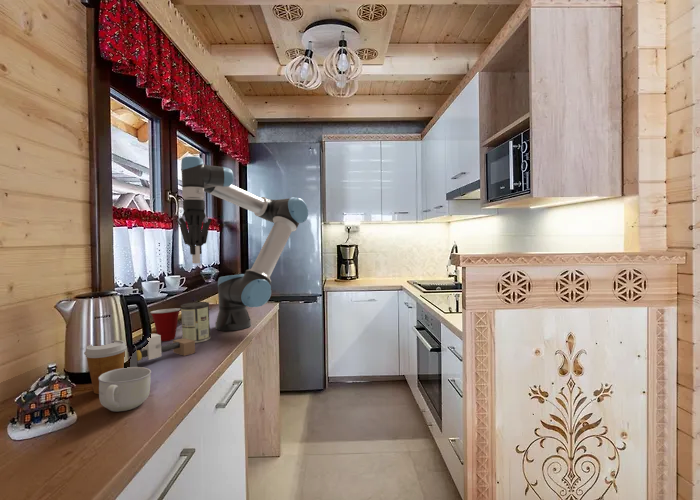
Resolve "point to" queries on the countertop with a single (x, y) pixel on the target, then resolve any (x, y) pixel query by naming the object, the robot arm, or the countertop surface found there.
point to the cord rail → (177, 346)
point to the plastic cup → (166, 323)
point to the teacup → (124, 388)
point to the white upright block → (153, 346)
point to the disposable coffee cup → (104, 360)
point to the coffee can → (195, 321)
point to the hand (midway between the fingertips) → (196, 263)
